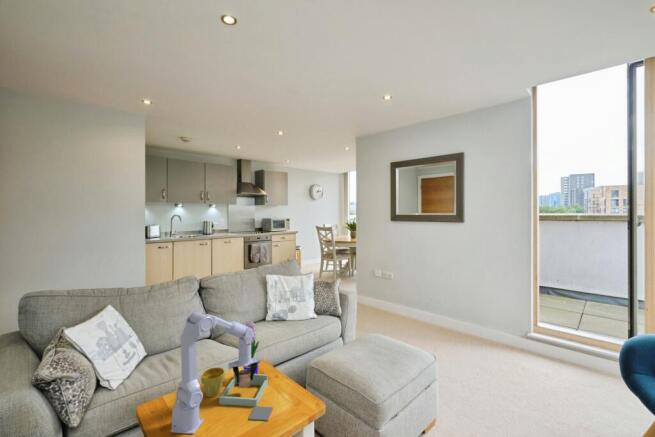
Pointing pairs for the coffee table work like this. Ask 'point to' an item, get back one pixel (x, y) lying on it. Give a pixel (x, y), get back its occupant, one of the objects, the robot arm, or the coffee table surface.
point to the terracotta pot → (244, 378)
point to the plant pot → (213, 381)
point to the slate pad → (261, 413)
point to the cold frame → (223, 399)
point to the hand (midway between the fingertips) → (244, 380)
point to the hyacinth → (252, 344)
